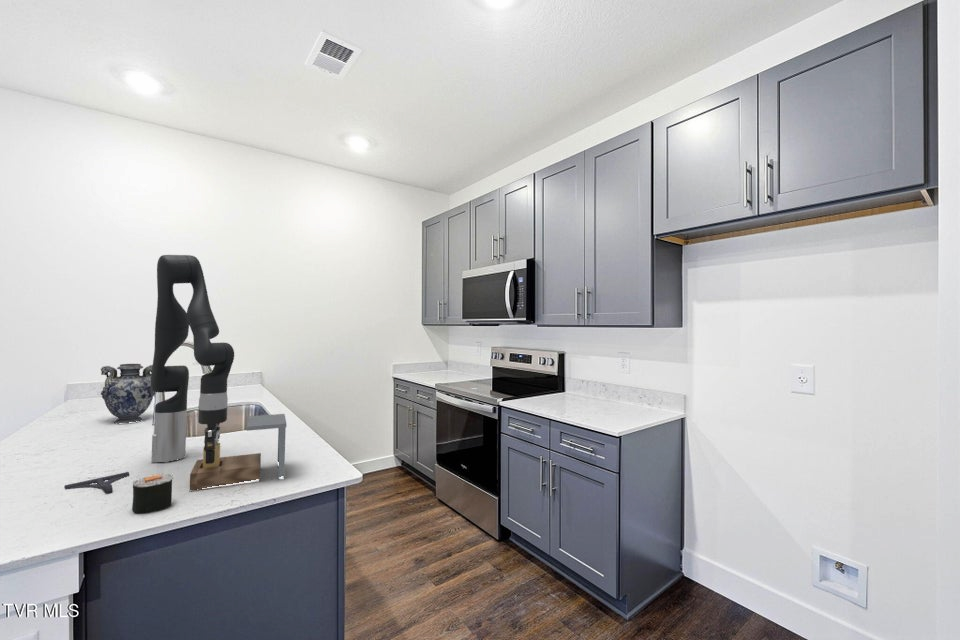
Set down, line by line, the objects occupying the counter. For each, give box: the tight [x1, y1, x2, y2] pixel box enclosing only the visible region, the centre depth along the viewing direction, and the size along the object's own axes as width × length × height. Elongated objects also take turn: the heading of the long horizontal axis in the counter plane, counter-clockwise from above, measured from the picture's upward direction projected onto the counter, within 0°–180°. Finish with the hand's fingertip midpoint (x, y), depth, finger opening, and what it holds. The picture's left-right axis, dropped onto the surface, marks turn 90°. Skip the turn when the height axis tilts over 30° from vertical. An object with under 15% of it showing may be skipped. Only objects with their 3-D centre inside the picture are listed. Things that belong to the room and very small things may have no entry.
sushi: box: [131, 473, 174, 515], centre depth 109 cm, size 8×8×8 cm
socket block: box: [189, 452, 262, 491], centre depth 130 cm, size 18×14×5 cm
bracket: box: [64, 471, 130, 495], centre depth 121 cm, size 14×15×3 cm
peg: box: [202, 442, 221, 468], centre depth 128 cm, size 4×4×10 cm
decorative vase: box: [100, 363, 156, 424], centre depth 201 cm, size 21×19×28 cm
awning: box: [246, 413, 287, 477], centre depth 135 cm, size 11×16×18 cm
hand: (211, 459), depth 128 cm, fingers open, 8 cm apart
